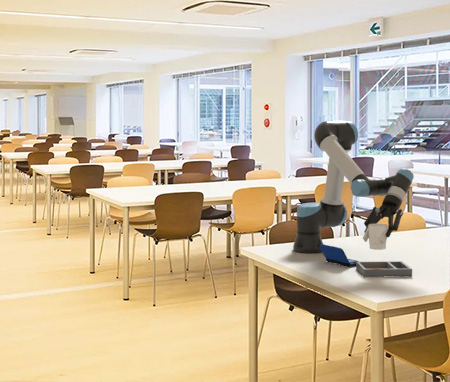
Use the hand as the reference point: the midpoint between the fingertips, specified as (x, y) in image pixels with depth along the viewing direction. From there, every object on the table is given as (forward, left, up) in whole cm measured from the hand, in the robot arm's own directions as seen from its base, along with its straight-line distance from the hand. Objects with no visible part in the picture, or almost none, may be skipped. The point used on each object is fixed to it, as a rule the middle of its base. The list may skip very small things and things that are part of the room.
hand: (373, 241), depth 278 cm
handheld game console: (-9, +21, -15) cm, 27 cm away
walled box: (+5, +3, -14) cm, 15 cm away
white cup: (+2, +2, -4) cm, 5 cm away
